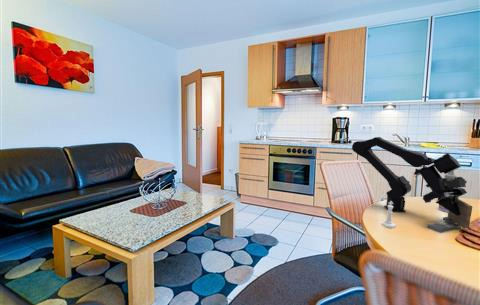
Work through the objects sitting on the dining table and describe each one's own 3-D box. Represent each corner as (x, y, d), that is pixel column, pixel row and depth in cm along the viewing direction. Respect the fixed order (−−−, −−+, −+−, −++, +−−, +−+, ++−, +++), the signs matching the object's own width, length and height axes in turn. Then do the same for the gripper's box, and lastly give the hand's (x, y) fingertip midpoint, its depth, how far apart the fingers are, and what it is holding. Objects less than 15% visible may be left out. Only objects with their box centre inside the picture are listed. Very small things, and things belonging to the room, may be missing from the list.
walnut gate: (463, 228, 94) (467, 205, 92) (446, 216, 105) (449, 195, 104) (469, 229, 93) (473, 205, 92) (452, 217, 105) (455, 196, 103)
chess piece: (378, 222, 101) (381, 199, 99) (389, 222, 101) (392, 199, 100) (386, 228, 96) (389, 203, 94) (398, 228, 96) (401, 203, 95)
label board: (419, 224, 100) (420, 221, 100) (447, 219, 107) (448, 216, 106) (440, 232, 93) (440, 229, 93) (469, 226, 100) (469, 223, 99)
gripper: (437, 170, 95) (465, 209, 86) (466, 168, 101) (495, 204, 93) (412, 184, 103) (436, 221, 95) (440, 181, 110) (465, 215, 102)
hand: (458, 215), depth 96 cm, fingers closed
